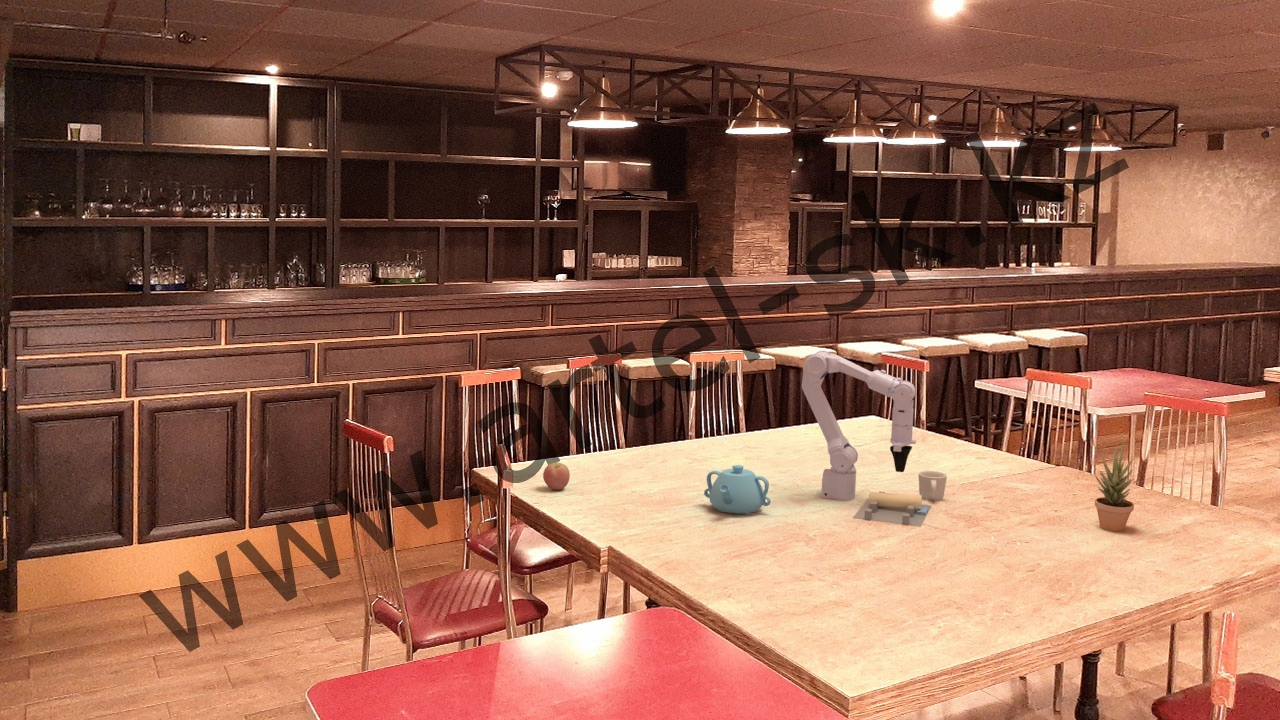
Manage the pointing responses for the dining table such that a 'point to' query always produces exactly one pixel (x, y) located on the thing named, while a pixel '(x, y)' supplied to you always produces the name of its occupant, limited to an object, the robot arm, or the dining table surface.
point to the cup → (932, 485)
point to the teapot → (737, 491)
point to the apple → (556, 476)
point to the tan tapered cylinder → (895, 500)
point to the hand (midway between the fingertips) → (899, 471)
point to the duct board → (893, 514)
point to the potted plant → (1114, 496)
